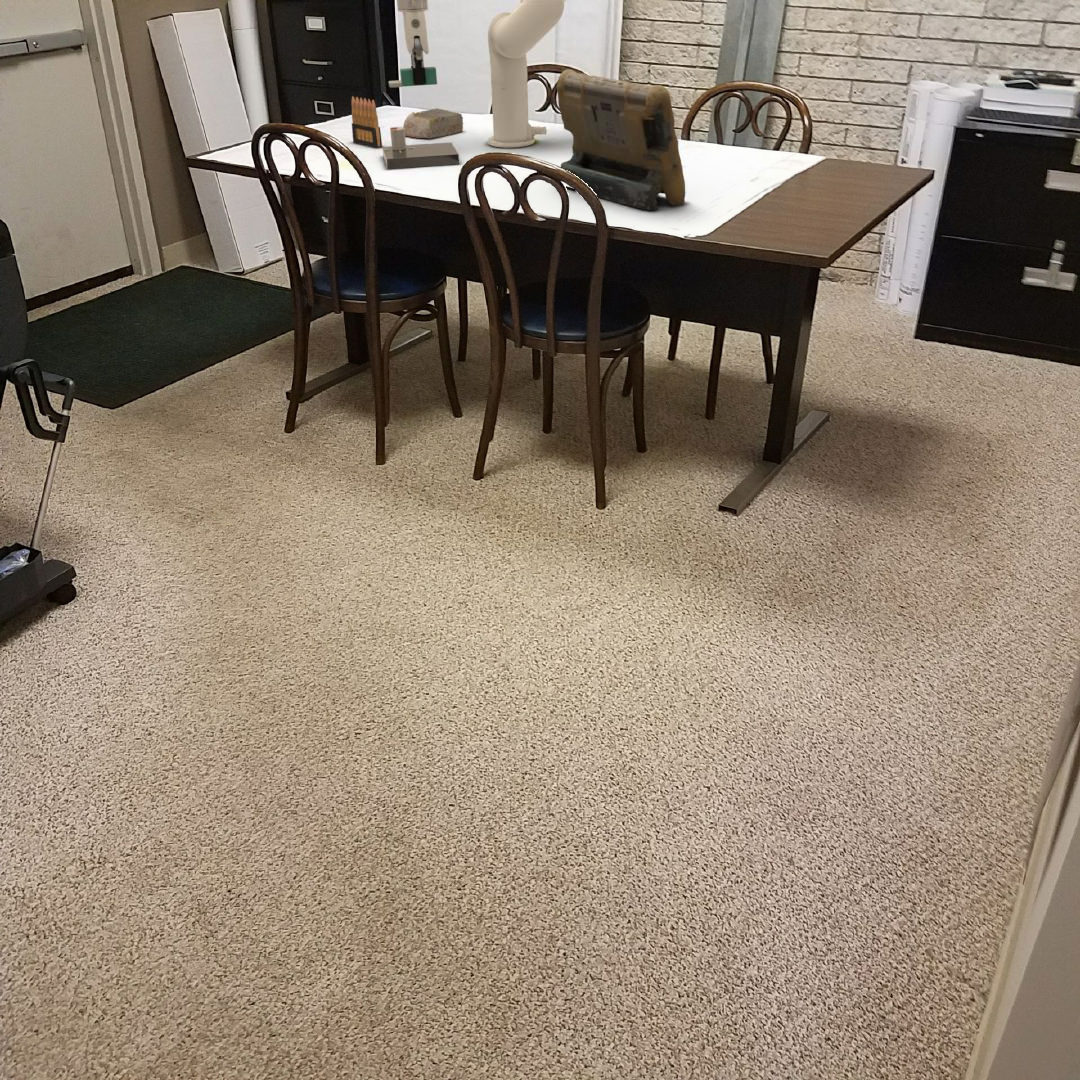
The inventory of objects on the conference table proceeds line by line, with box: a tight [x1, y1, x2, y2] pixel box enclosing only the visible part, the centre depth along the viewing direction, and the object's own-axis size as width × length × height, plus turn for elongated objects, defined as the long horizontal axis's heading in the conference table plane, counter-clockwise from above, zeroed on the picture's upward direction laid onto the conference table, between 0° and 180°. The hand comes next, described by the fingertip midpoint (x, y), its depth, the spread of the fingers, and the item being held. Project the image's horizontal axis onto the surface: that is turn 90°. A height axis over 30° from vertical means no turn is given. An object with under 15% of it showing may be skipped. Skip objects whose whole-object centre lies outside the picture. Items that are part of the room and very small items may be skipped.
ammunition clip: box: [351, 95, 383, 149], centre depth 285 cm, size 11×2×12 cm, turn 45°
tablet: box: [556, 68, 686, 212], centre depth 232 cm, size 33×14×25 cm, turn 44°
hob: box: [381, 141, 460, 170], centre depth 271 cm, size 18×14×3 cm
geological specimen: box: [402, 108, 464, 140], centre depth 298 cm, size 11×6×15 cm
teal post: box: [388, 66, 438, 89], centre depth 273 cm, size 4×12×4 cm, turn 101°
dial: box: [389, 126, 407, 151], centre depth 270 cm, size 4×4×5 cm
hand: (419, 82), depth 274 cm, fingers closed on teal post, 3 cm apart
